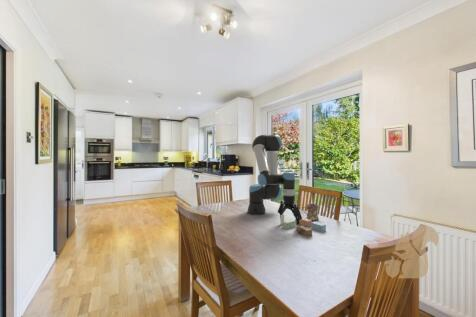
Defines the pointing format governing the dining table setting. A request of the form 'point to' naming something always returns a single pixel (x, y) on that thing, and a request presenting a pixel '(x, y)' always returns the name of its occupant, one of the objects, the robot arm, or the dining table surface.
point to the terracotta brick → (305, 222)
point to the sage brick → (288, 224)
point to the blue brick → (318, 226)
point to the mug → (312, 211)
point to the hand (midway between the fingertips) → (289, 226)
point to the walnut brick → (304, 231)
